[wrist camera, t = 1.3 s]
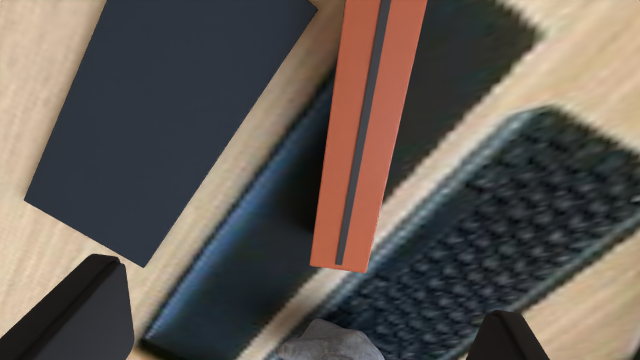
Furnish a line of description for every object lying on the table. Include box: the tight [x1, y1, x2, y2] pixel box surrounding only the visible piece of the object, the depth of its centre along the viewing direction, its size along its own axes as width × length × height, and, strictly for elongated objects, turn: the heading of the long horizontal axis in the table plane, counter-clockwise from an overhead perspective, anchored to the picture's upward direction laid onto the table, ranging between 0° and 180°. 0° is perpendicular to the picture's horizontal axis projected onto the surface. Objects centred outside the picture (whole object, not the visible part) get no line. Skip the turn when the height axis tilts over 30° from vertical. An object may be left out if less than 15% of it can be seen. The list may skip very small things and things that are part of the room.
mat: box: [24, 0, 318, 268], centre depth 25 cm, size 26×11×1 cm, turn 143°
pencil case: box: [310, 0, 427, 273], centre depth 23 cm, size 19×4×4 cm, turn 173°
